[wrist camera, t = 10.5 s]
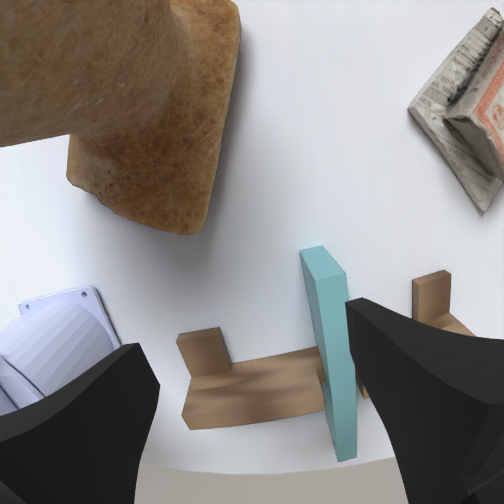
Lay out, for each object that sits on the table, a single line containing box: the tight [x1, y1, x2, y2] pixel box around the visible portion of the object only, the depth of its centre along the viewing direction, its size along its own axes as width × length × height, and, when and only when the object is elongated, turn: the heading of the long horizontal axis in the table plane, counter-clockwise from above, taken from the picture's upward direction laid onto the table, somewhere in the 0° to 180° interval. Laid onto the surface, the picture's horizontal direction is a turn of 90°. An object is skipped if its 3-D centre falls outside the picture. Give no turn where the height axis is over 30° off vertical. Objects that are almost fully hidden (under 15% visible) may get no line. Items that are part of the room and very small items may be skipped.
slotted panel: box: [299, 246, 357, 462], centre depth 18 cm, size 16×2×5 cm, turn 14°
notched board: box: [176, 270, 476, 430], centre depth 18 cm, size 20×8×5 cm, turn 103°
